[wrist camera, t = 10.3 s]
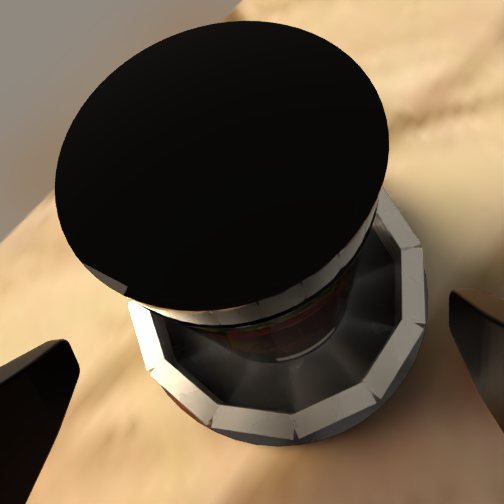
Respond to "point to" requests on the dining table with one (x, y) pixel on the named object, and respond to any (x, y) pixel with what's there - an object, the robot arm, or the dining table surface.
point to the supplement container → (229, 184)
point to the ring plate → (312, 365)
